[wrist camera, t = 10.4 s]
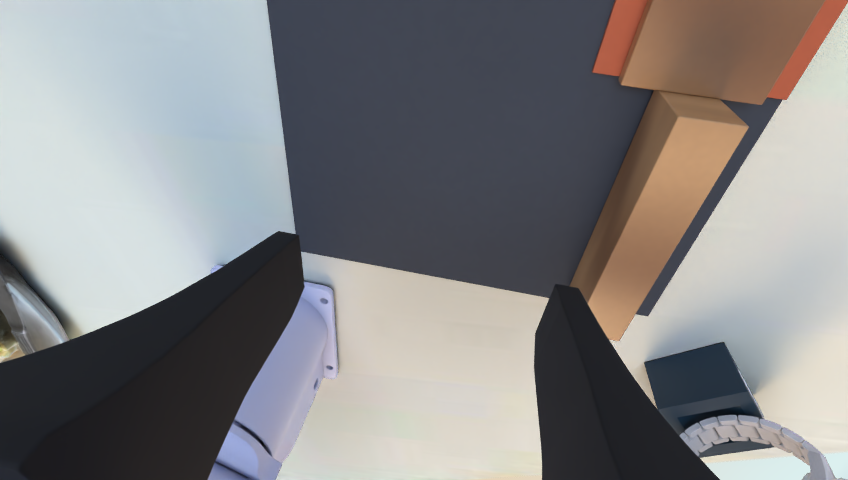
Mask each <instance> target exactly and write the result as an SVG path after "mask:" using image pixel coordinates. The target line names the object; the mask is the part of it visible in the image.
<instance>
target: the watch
mask: <svg viewBox="0 0 848 480" xmlns="http://www.w3.org/2000/svg"><path fill="white" fill-rule="evenodd" d="M644 364H645V367H646V371H647V374H648V378H649V381H650V385H651V388H652V392H653V395H654V399H655V402H656V406H657V409H658V411H659V412H660V413H661V414H662V416H663V417H664V418H665V419H666V421H667V422H668V423H669V424H670V425H671V427H672V428H673V429H674V430H675V431H676V433H677V434H678V435H679V436H680V437H681V438H682V439H683V441H684V442H685V443H686V444H687V445H688V446H689V447H690V448H691V450H692V451H693V452H694V453H695V454H696V455H697V456H698V457H699V458H701V457H708V456H715V455H722V454H729V453H736V452H743V451H750V450H757V449H765V448H772V447H777V448H779V449H782V450H784V451H786V452H788V453H791V452H792V453H793V455H794V456H796V457H797V458H799V459H800V460H802V461H803V462H805V463H806V464H808V465H810V469H811V473H807V474H806V475H805V476H804V477H803V479H802V480H847V479H843V478H839V479H837V478H835V476H834V474H833V472H832V470H831V468H830V466H829V464H828V462H827V460H826V458H825V457H824V455H823V454H822V453H821V452H820V451H819V450H818V449H816V448H815V447H814V446H813V445H811V444H810V443H809V442H807V441H805V440H804V439H803V438H802V437H801V436H799V435H798V434H796V433H794V432H793V431H791V430H789V429H787V428H782V426H781V425H779V424H776V423H774V422H771V421H768V420H765V419H764V416H763V414H762V412H761V410H760V408H759V406H758V404H757V402H756V400H755V398H754V397H753V395H752V393H751V391H750V389H749V387H748V386H747V384H746V382H745V380H744V378H743V376H742V374H741V373H740V371H739V369H738V367H737V366H736V364H735V362H734V360H733V358H732V356H731V355H730V353H729V351H728V349H727V347H726V345H725V343H724V342H723V343H719V344H715V345H711V346H707V347H703V348H699V349H696V350H692V351H688V352H684V353H680V354H676V355H672V356H668V357H664V358H660V359H657V360H653V361H649V362H645V363H644Z"/></svg>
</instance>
